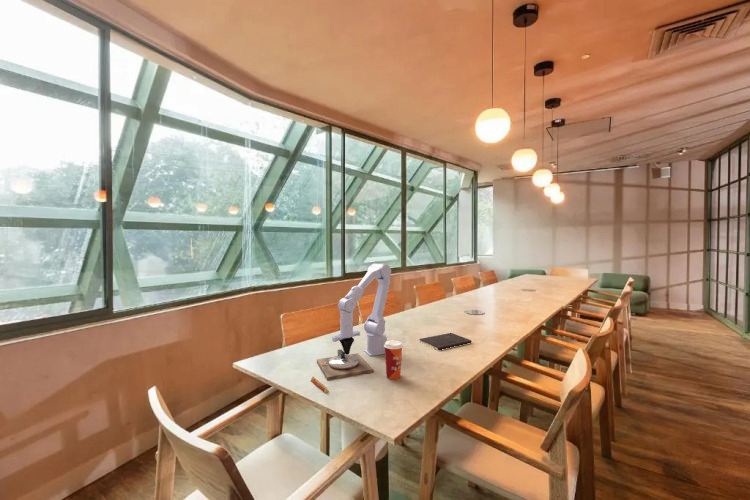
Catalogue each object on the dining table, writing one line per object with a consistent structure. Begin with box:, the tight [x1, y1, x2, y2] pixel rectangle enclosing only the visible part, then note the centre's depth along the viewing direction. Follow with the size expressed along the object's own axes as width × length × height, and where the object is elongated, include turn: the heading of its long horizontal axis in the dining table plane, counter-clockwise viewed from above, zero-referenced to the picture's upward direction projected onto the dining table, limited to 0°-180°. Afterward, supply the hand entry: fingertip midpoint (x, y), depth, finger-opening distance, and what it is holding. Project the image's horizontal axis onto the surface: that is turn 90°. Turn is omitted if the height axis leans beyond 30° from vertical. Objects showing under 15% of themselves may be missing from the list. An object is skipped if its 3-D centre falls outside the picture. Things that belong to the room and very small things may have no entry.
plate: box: [316, 353, 374, 381], centre depth 140 cm, size 20×20×1 cm
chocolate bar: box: [310, 376, 330, 394], centre depth 122 cm, size 3×12×2 cm, turn 36°
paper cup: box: [384, 339, 404, 380], centre depth 130 cm, size 8×8×14 cm
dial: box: [329, 348, 359, 370], centre depth 140 cm, size 13×14×4 cm
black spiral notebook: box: [419, 332, 472, 351], centre depth 172 cm, size 16×23×2 cm
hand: (346, 353), depth 146 cm, fingers closed
